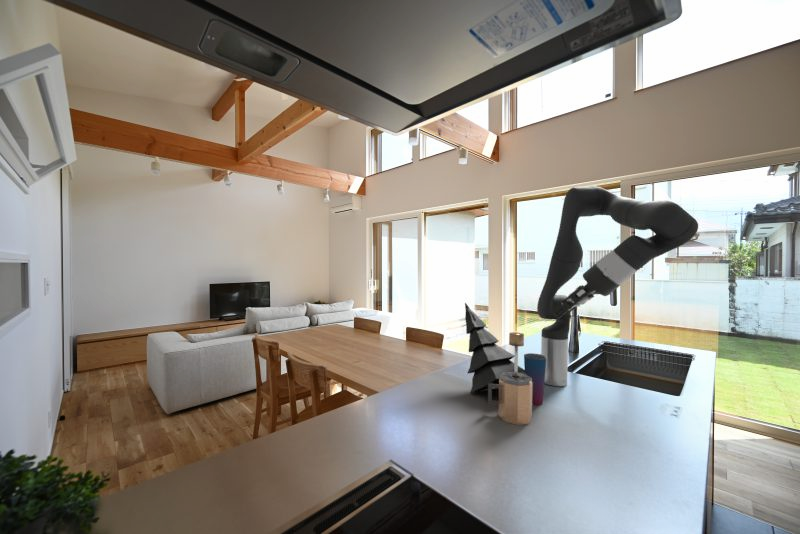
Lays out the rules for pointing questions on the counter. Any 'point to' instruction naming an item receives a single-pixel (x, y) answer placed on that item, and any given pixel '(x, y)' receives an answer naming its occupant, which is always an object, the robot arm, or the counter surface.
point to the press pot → (513, 398)
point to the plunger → (516, 347)
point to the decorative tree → (485, 355)
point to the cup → (536, 375)
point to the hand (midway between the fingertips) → (558, 314)
